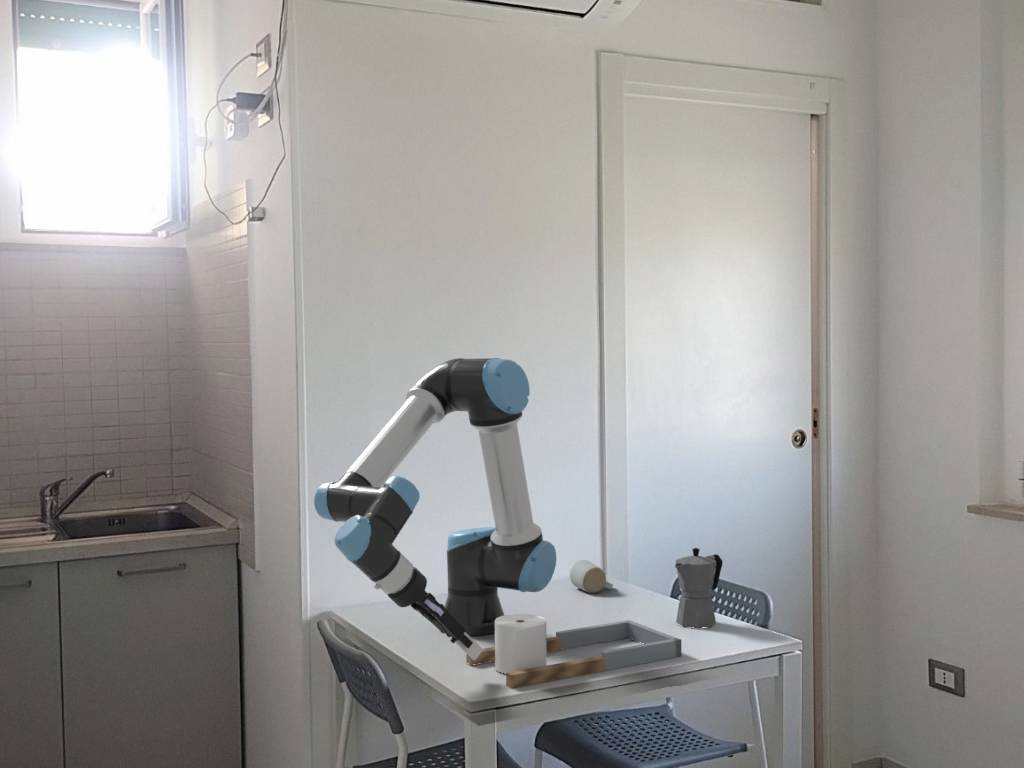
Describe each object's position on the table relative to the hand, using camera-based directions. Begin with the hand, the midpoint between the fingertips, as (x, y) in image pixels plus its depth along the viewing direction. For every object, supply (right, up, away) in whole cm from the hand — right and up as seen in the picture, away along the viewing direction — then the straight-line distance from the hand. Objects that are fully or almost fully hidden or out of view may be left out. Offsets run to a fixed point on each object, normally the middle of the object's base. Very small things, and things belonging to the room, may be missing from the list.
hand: (477, 653), depth 221 cm
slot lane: (+12, -4, +7) cm, 14 cm away
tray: (+29, -4, +17) cm, 34 cm away
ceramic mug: (+28, -1, +75) cm, 80 cm away
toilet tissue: (+9, -5, +5) cm, 11 cm away
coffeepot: (+51, -3, +40) cm, 65 cm away
